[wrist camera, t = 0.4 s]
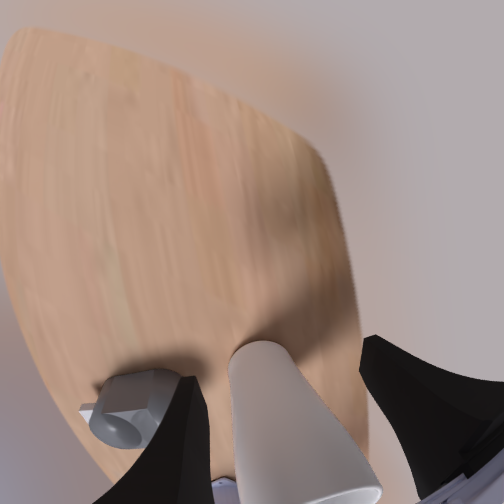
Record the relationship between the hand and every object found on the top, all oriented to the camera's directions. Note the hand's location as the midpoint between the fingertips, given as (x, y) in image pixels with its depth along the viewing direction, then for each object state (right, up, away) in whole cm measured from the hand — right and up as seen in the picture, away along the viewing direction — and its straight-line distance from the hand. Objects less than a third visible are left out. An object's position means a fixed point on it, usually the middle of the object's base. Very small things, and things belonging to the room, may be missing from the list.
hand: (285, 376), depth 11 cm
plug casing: (-11, -7, +10) cm, 17 cm away
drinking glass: (-1, -4, +12) cm, 12 cm away
